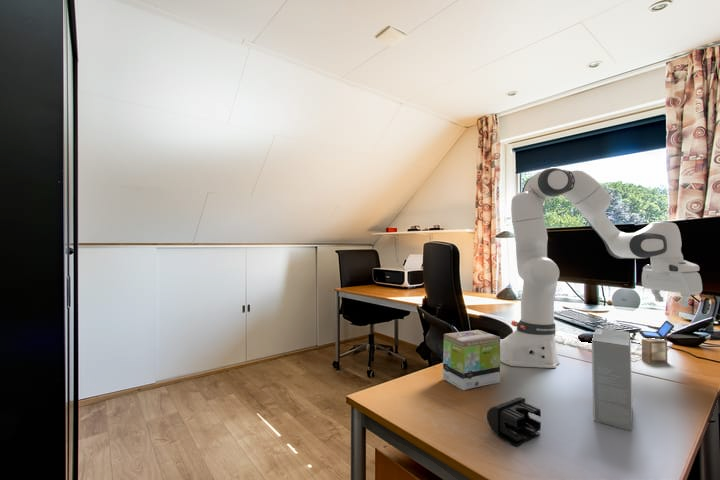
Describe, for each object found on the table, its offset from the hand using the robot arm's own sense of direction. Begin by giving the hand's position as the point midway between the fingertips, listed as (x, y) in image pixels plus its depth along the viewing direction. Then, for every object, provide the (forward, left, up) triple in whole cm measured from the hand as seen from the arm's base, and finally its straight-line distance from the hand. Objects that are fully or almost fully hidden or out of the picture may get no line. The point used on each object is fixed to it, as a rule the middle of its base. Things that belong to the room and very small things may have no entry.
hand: (671, 303), depth 119 cm
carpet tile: (-6, +27, -23) cm, 36 cm away
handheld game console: (+30, +35, -23) cm, 51 cm away
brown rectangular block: (-3, +3, -22) cm, 22 cm away
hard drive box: (-50, -32, -22) cm, 64 cm away
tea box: (-78, -10, -22) cm, 82 cm away
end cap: (-80, -39, -22) cm, 92 cm away
